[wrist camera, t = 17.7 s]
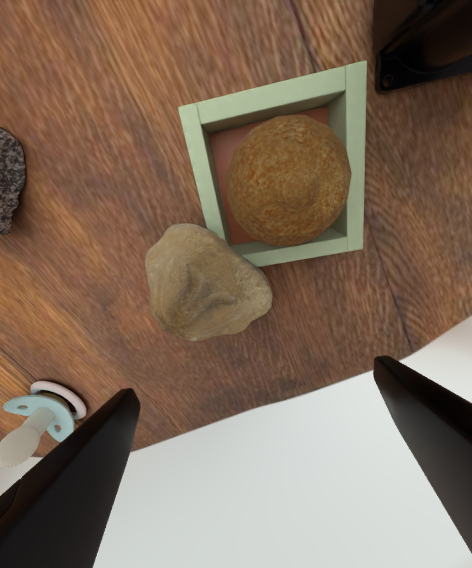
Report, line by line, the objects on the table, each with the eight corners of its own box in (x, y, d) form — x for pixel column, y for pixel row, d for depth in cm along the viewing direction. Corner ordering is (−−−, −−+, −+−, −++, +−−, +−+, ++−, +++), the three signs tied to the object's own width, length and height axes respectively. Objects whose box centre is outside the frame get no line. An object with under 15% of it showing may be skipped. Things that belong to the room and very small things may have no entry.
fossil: (183, 190, 13) (141, 272, 21) (126, 232, 10) (102, 308, 18) (299, 295, 15) (221, 335, 22) (277, 356, 12) (196, 378, 19)
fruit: (219, 144, 16) (198, 117, 8) (317, 118, 15) (389, 64, 8) (239, 237, 18) (238, 279, 11) (324, 219, 17) (383, 251, 10)
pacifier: (45, 367, 25) (14, 393, 27) (-12, 422, 19) (-47, 452, 21) (101, 405, 27) (70, 428, 29) (66, 465, 22) (29, 490, 23)
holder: (339, 85, 15) (367, 59, 12) (342, 235, 19) (363, 249, 15) (190, 120, 16) (177, 106, 12) (222, 257, 20) (217, 274, 16)
